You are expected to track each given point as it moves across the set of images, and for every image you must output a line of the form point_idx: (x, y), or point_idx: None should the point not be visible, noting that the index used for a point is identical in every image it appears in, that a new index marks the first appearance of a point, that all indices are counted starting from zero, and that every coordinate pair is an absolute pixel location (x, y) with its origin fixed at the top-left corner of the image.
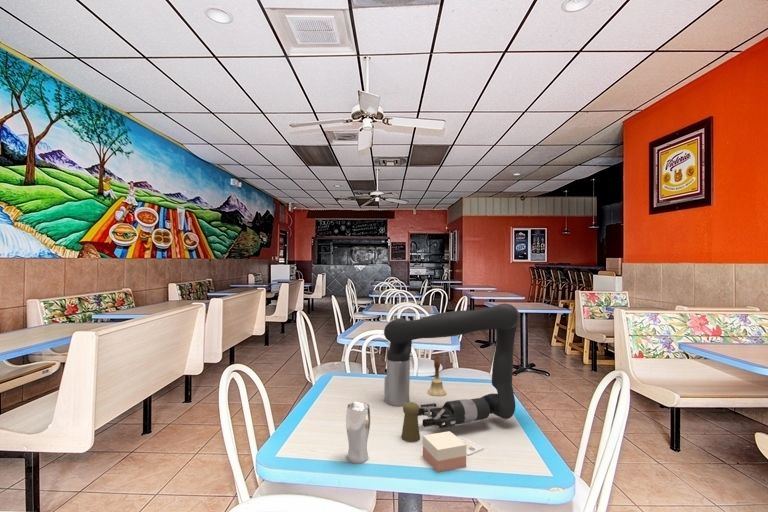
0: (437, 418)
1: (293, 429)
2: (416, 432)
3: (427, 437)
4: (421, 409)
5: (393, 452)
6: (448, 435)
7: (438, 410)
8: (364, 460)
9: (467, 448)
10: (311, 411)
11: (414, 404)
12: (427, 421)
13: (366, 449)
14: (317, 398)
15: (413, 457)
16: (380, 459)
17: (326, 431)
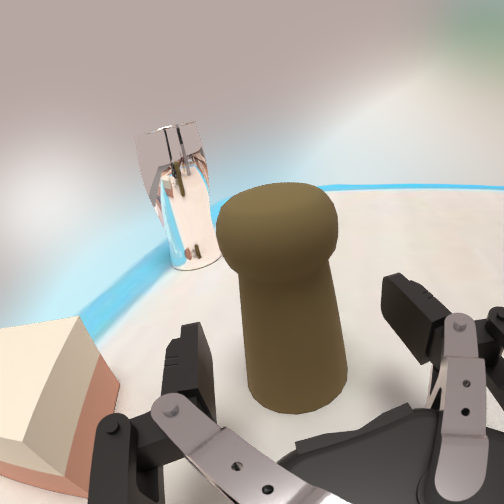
0: (158, 415)
1: (345, 189)
2: (249, 363)
3: (55, 325)
4: (428, 324)
5: (189, 314)
6: (3, 405)
7: (420, 476)
8: (172, 263)
9: None
10: (434, 190)
11: (253, 198)
12: (173, 348)
13: (174, 244)
14: (496, 190)
15: (130, 357)
16: (168, 289)
17: (343, 211)
